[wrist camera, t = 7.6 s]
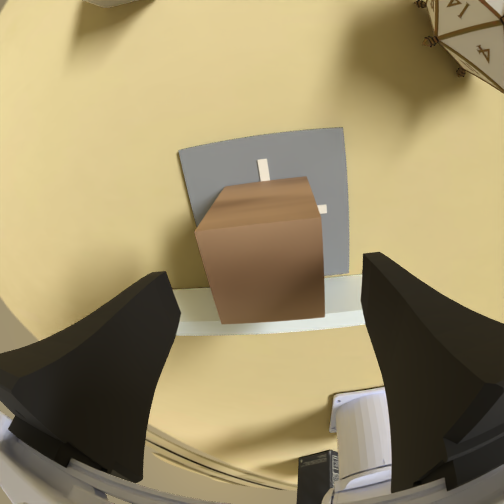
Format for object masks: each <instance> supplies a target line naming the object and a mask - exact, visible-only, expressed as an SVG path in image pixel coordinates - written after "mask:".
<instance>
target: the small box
mask: <svg viewBox="0 0 504 504" xmlns="http://www.w3.org/2000/svg"><path fill="white" fill-rule="evenodd" d="M338 480H339V463H338V453H337V452H335V451H332V450H329V451H326V452H322V453H319V454H315V455H310V456H306V457H302V458H299V466H298V489H297V504H322V500H323V498H324V496H325V494H326V493H327V492H328V491H329V489H331V488H334V482H335V481H338Z"/></svg>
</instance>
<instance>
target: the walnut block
mask: <svg viewBox="0 0 504 504" xmlns="http://www.w3.org/2000/svg"><path fill="white" fill-rule="evenodd" d="M194 233H195V236H196V240H197V244H198V247H199V251H200V254H201V258H202V261H203V265H204V268H205V272H206V275H207V279H208V282H209V285H210V289H211V292H212V295H213V299H214V302H215V305H216V308H217V312H218V315H219V318H220V321H221V324H243V323H261V322H277V321H290V320H302V319H313V318H323V317H325V285H324V257H323V237H322V221H321V215H320V212H319V209H318V207H317V204H316V201H315V198H314V195H313V192H312V190H311V187H310V184H309V182H308V179H307V176H304V177H294V178H285V179H277V180H268V181H261V182H253V183H246V184H239V185H232V186H225V187H224V189H223V190H222V191H221V193H220V194H219V196H218V197H217V199H216V200H215V202H214V203H213V205H212V206H211V208H210V209H209V210H208V212H207V213H206V215H205V216H204V218H203V219H202V221H201V222H200V224H199V225H198V227H197V228H196V230H195V231H194Z"/></svg>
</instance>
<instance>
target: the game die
mask: <svg viewBox="0 0 504 504" xmlns="http://www.w3.org/2000/svg"><path fill="white" fill-rule="evenodd" d="M414 3H415V4H416V5H417V6H418V7H422V8H425V7H426V8H427V11H428V15H429V18H430V22H431V25H432V29H433V33H434V37H430V36H428V38H427V37H425V40H424V42H423V45H426V46H430V47H432V46H435V45H436V43H439V44H440V45H441V46H442V47H443V48H444V49H445V50H446V51H447V52H448V53H449V54H450V55H451V56H452V57H453V58H454V60H455V61H456V62H457V63H458V64H459V65H460V66H461V68H458V70H457V71H456V72H457V75H458V77H461V76H463V77H464V74H465V71H467V72H469V73H471V74H473V75H475V76H476V77H478V78H480V79H481V80H483V81H485V82H486V83H488V84H490V85H491V86H493V87H494V88H496V89H497V90H499V91H501V92H502V93H504V0H426V3H425V2H423V1H422V0H421V1H420V0H418V1H416V2H414Z"/></svg>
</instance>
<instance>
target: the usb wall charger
mask: <svg viewBox="0 0 504 504" xmlns="http://www.w3.org/2000/svg"><path fill="white" fill-rule="evenodd" d="M83 1H86V2H89V3H91V4H94V5H97V6H100V7H104V8H109V7H114V6H118V5H121V4H125V3H129V2H133V1H137V0H83Z"/></svg>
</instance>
